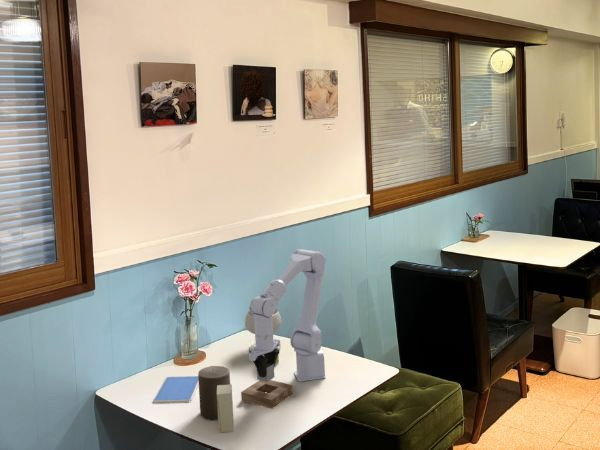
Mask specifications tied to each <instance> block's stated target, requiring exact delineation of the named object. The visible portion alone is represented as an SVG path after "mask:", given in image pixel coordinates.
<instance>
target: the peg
mask: <svg viewBox="0 0 600 450" xmlns="http://www.w3.org/2000/svg"><path fill="white" fill-rule="evenodd" d="M274 378H275V367H274V364H272V363H268V362H267V364H266V376H265V377H264V378H263V377H259V375H258V371H257V370H256V379H257V381H259V380H261V381H265V382H268V381H270V380H273V379H274Z"/></svg>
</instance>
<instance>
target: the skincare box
mask: <svg viewBox="0 0 600 450" xmlns="http://www.w3.org/2000/svg"><path fill="white" fill-rule="evenodd" d="M232 386H233V385H232V383H230V385H217V408H218V420H217V425H218V432H219V433H229V432H234V427H235V426H234V425H235V424H234V404H233V387H232Z"/></svg>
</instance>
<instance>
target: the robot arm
mask: <svg viewBox="0 0 600 450" xmlns="http://www.w3.org/2000/svg"><path fill="white" fill-rule="evenodd" d="M326 259H327V258H326V257H325V256H324V254H323V252H321V251H314V250H309V249H302V248H297V249H296V250H295V251H294V252H293V253H292V254H291V256H290V262H289V263H288V265H287V266H286V268H285V269H284V270H283V272H282V273H281V275H280V276H279V277H278V279H273V280H271V281H270V282H269V284H268V286H267V287H266V288H264V290H263V291H262V292H261V293H260V295H258V296H255V297H254V298H252V299H251V302H250V304H249V306H248V307H249V310H250V312H251V313H252V315H253V319H254V324H255V334H254V339H255V344H256V345H254V346H253V347H254V350H253V351H252V352H251V351H250V353H249V354H248V359H249V361H251V362H253V364H254V366H255V369H256V372H257V371H258V375H259V377H263V378H264V377H265V376H266V364H267V362H268V363H272V364H274V368H276V367H275V366H276V365H275V362H276V359H277V356H278V355H279V354H280V349H276V347H277V346H280V347H281V340H280V339H277V338H276V339H275V340H273V337H274V333H273V323H272V315H273V314H274V312H275V310H276V309H277V306H278V303H279V301H280V300H281V299H282V297H284V296H285V294H286V293H287V286H288V285H289V284H290V283H291V282H293V280H294V279H295V278H296V277H297V276H298V275H299V274H300V273H303V274H304V276H305V277H306V283H305V288H304V295H303V302H302V309H301V314H300V315H301V316H300V322H299V323H298V324H297V325H295V326H294V327H293V331H292V334H291V337H290V340H289V341H290V343H289V344H290V347H291V348H293V351H294V352H295V357H296V358H295V361H296V371H293V372H294V373H293V374H294V376H295V377H296V379H297V381H298V382H300V383H301V382H306V381H307V382H308V381H314V380H321V379H322V380H323V379H326V370H325V367H326V366H325V356H324V352H323V349H321V347H322V344H323V343H322V331H321V329H320V328H319V327H318V326H317V320H318V319H317V318H318V313H319V306H320V305H319V304H320V298H321V292H322V286H323V279H324V275H325V274H324V272H325V267H326V261H327V260H326Z"/></svg>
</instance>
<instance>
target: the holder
mask: <svg viewBox="0 0 600 450" xmlns="http://www.w3.org/2000/svg"><path fill="white" fill-rule="evenodd" d="M292 395H294V385H293V384H291V383H286V382H281V381H279V380H278V381H277V380H273V379H271V380H270V381H268V382H265V381H261V380H257V381H256V382H255V383H253V384H251V385H250V386H249V387H246V388H245V389H244V390H242V391H241V392H240V396H241V402H245V403H249V404H252V405H256V406H259V407H264V408H267V409H271V410H272V409H275V408H276V407H277V406H278V405H280V404H282V403H283V402H284V401H285V400H287V399H289V397H291V396H292Z"/></svg>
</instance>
